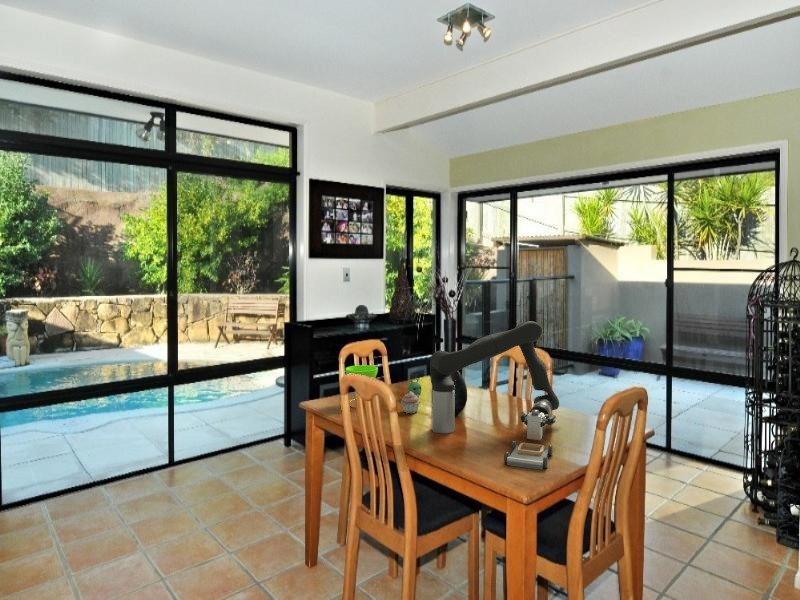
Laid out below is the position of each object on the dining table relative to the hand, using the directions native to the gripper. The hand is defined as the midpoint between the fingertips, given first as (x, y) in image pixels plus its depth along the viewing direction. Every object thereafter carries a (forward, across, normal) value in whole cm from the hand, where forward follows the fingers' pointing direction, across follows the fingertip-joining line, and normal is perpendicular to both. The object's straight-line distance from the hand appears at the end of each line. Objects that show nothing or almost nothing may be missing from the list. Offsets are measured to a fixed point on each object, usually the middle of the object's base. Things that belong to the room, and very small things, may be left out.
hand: (534, 423), depth 209 cm
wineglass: (-34, -89, +10) cm, 96 cm away
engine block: (-3, 0, +6) cm, 7 cm away
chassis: (+13, 0, +9) cm, 16 cm away
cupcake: (-29, -61, +10) cm, 69 cm away
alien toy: (-54, -69, +10) cm, 88 cm away
